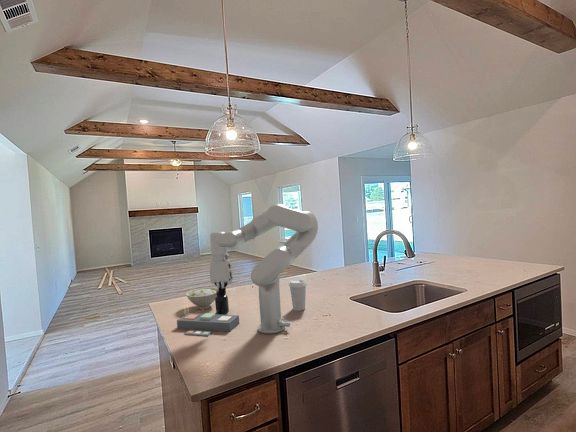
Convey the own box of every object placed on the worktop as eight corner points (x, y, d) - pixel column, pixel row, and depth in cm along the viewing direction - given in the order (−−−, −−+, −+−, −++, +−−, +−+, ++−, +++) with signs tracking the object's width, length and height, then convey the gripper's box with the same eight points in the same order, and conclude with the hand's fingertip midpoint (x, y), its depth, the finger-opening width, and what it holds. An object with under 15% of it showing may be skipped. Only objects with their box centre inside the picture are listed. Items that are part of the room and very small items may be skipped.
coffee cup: (306, 311, 166) (305, 283, 166) (288, 311, 168) (287, 283, 168) (309, 305, 176) (307, 278, 175) (292, 305, 178) (290, 279, 177)
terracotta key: (199, 320, 159) (199, 314, 159) (193, 324, 154) (193, 318, 154) (190, 320, 161) (190, 314, 160) (184, 324, 156) (184, 318, 155)
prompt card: (212, 332, 146) (212, 331, 146) (207, 336, 143) (207, 334, 143) (189, 331, 150) (189, 329, 150) (184, 334, 146) (184, 333, 146)
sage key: (215, 319, 157) (215, 313, 156) (210, 323, 152) (209, 317, 151) (206, 319, 158) (205, 313, 158) (200, 323, 153) (200, 316, 153)
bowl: (179, 310, 181) (178, 293, 180) (203, 300, 198) (202, 284, 197) (205, 314, 172) (204, 296, 171) (228, 303, 189) (226, 286, 188)
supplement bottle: (223, 309, 178) (221, 288, 177) (231, 312, 173) (230, 290, 173) (213, 313, 172) (211, 291, 172) (221, 316, 168) (219, 293, 167)
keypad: (239, 323, 156) (238, 315, 156) (230, 331, 146) (229, 323, 146) (189, 320, 164) (188, 313, 163) (177, 328, 154) (176, 320, 154)
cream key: (232, 322, 154) (232, 316, 154) (227, 326, 149) (227, 320, 149) (222, 321, 155) (222, 315, 155) (217, 326, 151) (217, 319, 150)
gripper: (237, 256, 152) (240, 294, 153) (209, 256, 157) (212, 293, 157) (230, 259, 145) (233, 298, 146) (201, 259, 149) (204, 298, 150)
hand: (222, 295), depth 152 cm, fingers closed
